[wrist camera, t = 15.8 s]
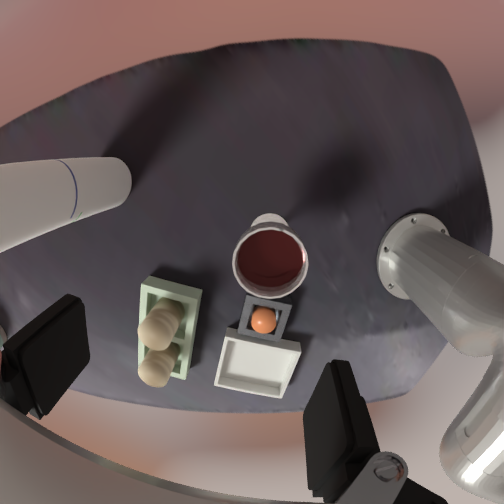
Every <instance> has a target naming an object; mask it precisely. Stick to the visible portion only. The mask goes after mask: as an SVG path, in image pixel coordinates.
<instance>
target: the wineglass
mask: <svg viewBox="0 0 504 504" xmlns="http://www.w3.org/2000/svg"><path fill="white" fill-rule="evenodd" d="M232 265H233V271H234V275H235V277H236V279H237V281H238V282H239V284H240V285H241V286H242V287H243V288H244V289H245V290H246V291H247V292H249V293H251V294H253V295H255V296H257V297H261V298H267V299H273V298H281V297H283V296H285V295H288V294H290V293H292V292H293V291H294V290H295V289H296V288H298V287H299V286H300V284H301V283H302V281H303V280H304V278H305V276H306V273H307V269H308V257H307V253H306V250H305V246H304V244H303V242H302V239H301V237H300V236H299V235H298V234H297V233H296V232H295V231H294V230H293V229H292V228H290V227H288V225H287V223H286V221H285V220H284V219H283V218H282V217H280V216H278V215H277V214H272V213H268V214H263V215H261V216H259V217H258V218H257V219H256V220H254V222H253V224H252V226H251V227H250V228H249V229H248V230H247V231H246V232H245V233H244V234H242V235H241V237H240V239H239V241H238V242H237V244H236V247H235V251H234V255H233V262H232Z"/></svg>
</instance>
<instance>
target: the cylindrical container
mask: <svg viewBox="0 0 504 504" xmlns="http://www.w3.org/2000/svg"><path fill="white" fill-rule="evenodd" d="M131 185H132V179H131V174H130V171H129V169H128V167H127V165H126V164H125V163H124V162H123V161H122V160H120V159H118V158H115V157H93V158H69V159H54V160H40V161H28V162H18V163H9V164H1V165H0V253H1V252H3V251H5V250H7V249H9V248H12V247H14V246H16V245H18V244H21V243H23V242H25V241H27V240H30V239H32V238H34V237H37V236H39V235H42V234H44V233H46V232H49V231H51V230H54V229H56V228H59V227H61V226H64V225H67V224H69V223H72V222H74V221H77V220H80V219H83V218H85V217H88V216H91V215H94V214H96V213H99V212H102V211H105V210H108V209H111V208H114V207H117V206H119V205H121V204H122V203H123V202H124V201H125V200H126V199H127V197H128V195H129V193H130V190H131Z"/></svg>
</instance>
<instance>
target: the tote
mask: <svg viewBox="0 0 504 504" xmlns="http://www.w3.org/2000/svg"><path fill="white" fill-rule="evenodd" d="M237 331H238V329H234V328H229V327H227V331H226V335H225V339H224V343H223V348H222V352H221V356H220V361H219V365H218V370H217V374H216V378H215V383H214V385H215V386H219V387H224V388H228V389H233V390H237V391H242V392H247V393H252V394H258V395H263V396H269V397H275V398H282V396H283V394H284V392H285V390H286V387H287V385H288V383H289V381H290V378H291V376H292V374H293V371H294V369H295V366H296V364H297V362H298V359H299V357H300V354H301V346H300V342H295V341H290V340H285V339H281V340H280V342H276V341H271V340H266V339H261V338H257V337H252V336H247V335H243V334H239V333H237Z"/></svg>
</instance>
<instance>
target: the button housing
mask: <svg viewBox="0 0 504 504" xmlns="http://www.w3.org/2000/svg"><path fill="white" fill-rule="evenodd" d="M257 305H260V306H265V307H269V308H274V309H275V311H276V326H275V328H274V330H273V331H271V332H269V333H265V334H263V333H258V332H256V331H255V330H254V329H253V327H252V324H251V322H252V313H253V309H254V308H255V307H256V306H257ZM291 307H292V301H291V297H289V296H283V297H281V298H273V299H267V298H261V297H257V296H255V295H253V294H251V293H249V292H247V293H246V297H245V301H244V305H243V309H242V313H241V317H240V321H239V326H238V331H237V333H239V334H243V335H247V336H252V337H257V338H261V339H266V340H271V341H276V342H280V340H281V337H282V334H283V331H284V328H285V325H286V322H287V319H288V316H289V313H290V310H291Z"/></svg>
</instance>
